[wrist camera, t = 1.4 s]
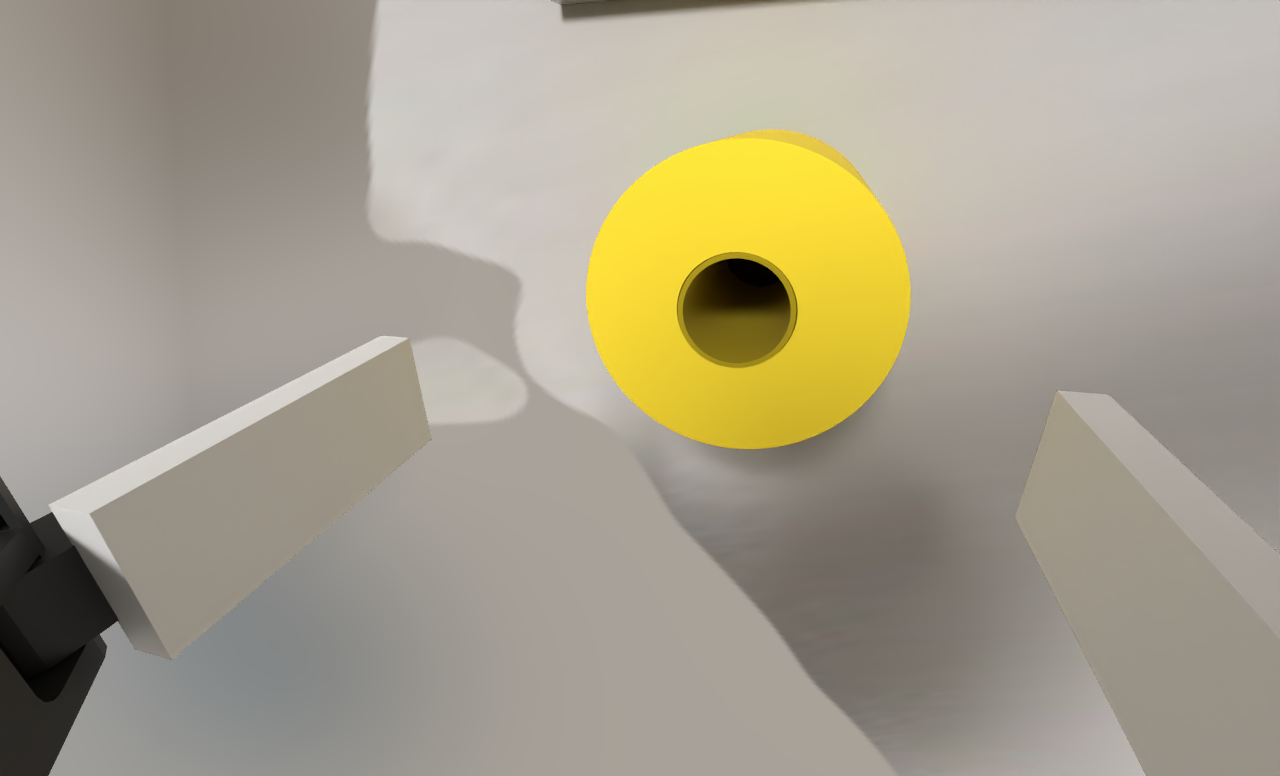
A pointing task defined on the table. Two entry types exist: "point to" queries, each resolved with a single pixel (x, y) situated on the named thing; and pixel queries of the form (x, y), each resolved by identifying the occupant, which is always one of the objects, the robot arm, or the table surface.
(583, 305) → the table surface
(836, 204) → the tape roll
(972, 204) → the table surface
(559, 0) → the ring collar plate
